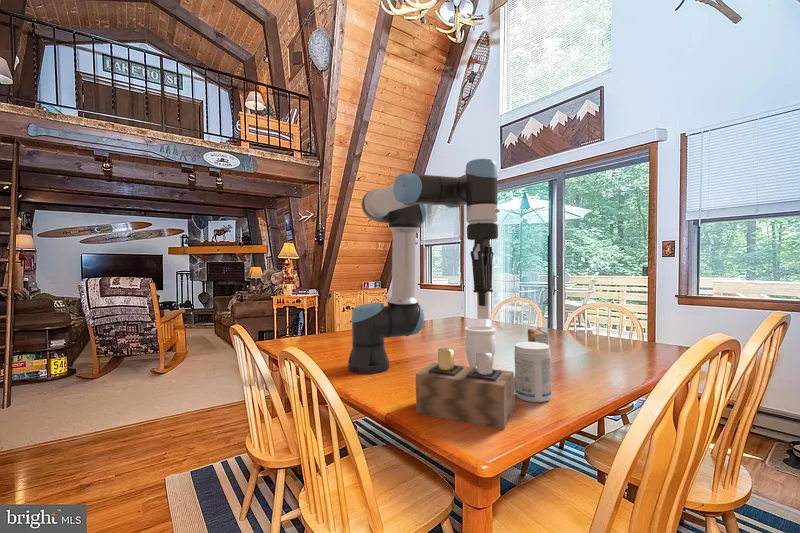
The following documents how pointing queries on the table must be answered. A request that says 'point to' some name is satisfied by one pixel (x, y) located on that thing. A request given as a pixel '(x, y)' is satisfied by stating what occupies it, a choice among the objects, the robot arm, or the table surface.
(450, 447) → the table surface
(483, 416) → the walnut block
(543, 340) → the candy box
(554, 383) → the table surface
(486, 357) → the steel peg
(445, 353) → the brass peg
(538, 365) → the supplement tub
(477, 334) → the jar
